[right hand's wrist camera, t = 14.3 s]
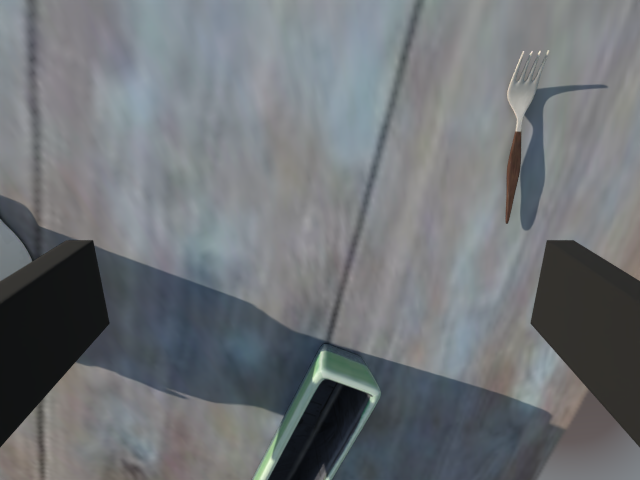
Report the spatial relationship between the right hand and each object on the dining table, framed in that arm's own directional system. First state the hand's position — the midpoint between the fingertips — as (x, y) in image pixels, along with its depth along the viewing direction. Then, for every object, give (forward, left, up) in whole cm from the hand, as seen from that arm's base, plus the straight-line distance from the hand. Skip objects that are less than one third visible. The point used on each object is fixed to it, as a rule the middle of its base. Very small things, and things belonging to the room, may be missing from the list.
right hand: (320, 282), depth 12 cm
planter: (+11, +33, -30) cm, 46 cm away
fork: (-18, +5, -30) cm, 36 cm away
